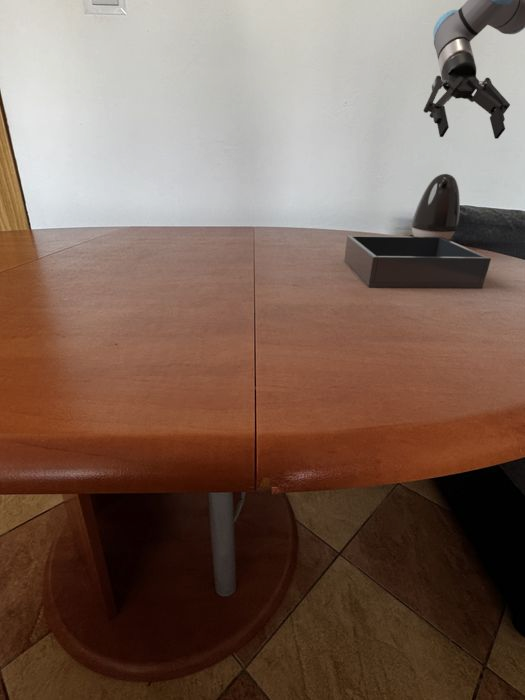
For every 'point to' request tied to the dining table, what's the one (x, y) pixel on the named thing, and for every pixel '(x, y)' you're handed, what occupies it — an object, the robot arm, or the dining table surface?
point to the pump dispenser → (438, 209)
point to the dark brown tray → (415, 262)
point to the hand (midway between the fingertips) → (472, 133)
